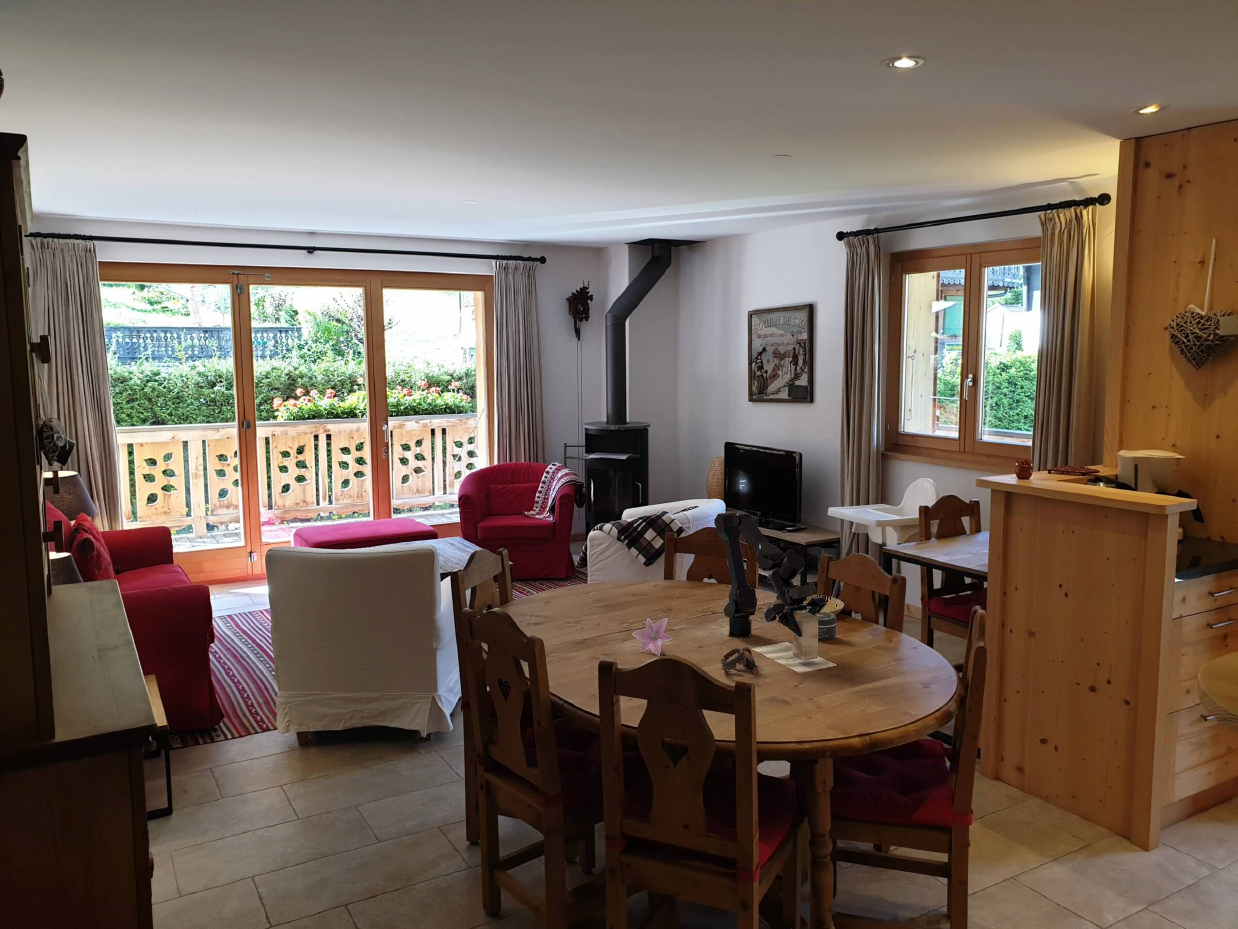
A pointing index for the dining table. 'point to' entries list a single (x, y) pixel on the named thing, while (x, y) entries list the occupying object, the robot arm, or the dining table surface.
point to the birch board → (792, 657)
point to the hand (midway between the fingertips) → (808, 635)
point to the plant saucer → (828, 608)
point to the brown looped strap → (739, 659)
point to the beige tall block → (806, 637)
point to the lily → (653, 635)
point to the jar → (826, 626)
